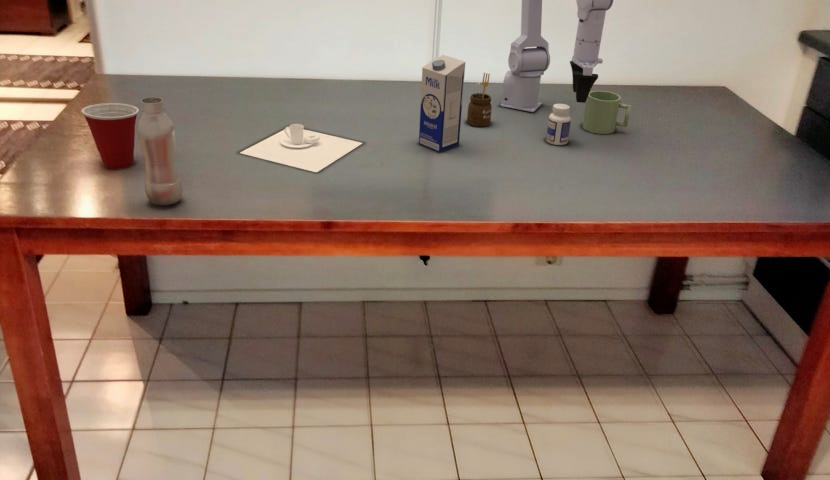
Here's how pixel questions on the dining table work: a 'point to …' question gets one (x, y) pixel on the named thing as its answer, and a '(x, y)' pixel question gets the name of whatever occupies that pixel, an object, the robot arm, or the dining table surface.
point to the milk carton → (441, 103)
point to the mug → (603, 112)
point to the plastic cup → (113, 132)
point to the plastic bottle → (159, 153)
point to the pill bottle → (559, 125)
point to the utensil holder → (480, 107)
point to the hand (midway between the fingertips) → (579, 97)
